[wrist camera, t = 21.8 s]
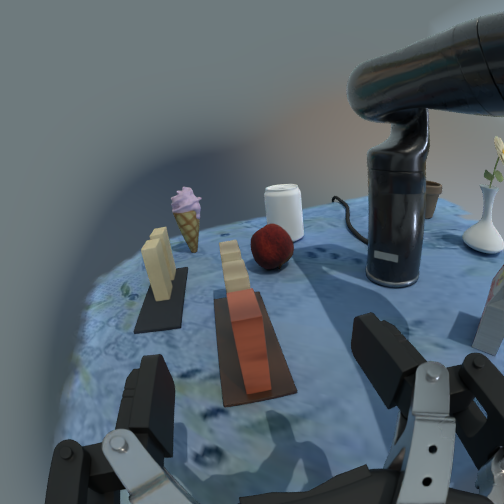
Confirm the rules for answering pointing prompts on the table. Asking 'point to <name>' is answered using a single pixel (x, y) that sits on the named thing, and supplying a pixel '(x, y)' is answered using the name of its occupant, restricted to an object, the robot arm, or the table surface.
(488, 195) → the flower in vase
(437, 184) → the flower pot
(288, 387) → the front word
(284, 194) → the beverage can
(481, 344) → the white tea box
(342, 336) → the table surface
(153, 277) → the back word
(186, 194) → the ice cream cone
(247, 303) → the orange rectangular block
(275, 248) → the apple
